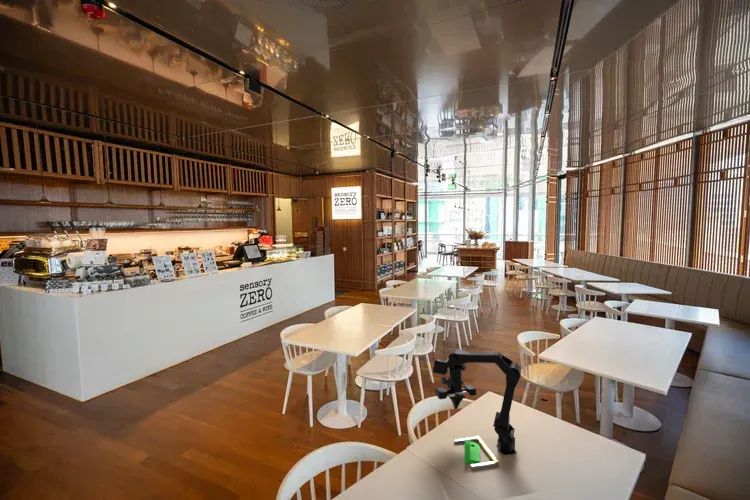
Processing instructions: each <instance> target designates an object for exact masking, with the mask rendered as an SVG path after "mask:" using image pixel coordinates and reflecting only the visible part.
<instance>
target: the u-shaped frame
mask: <svg viewBox="0 0 750 500" xmlns="http://www.w3.org/2000/svg"><path fill="white" fill-rule="evenodd" d="M465 440H470V442H475V443H476V442H477V444H478V445H479V446H480V448H482V450H483V451H484V452H485V454H486V455H487V456H488V458H489V459H490V460H491V461H486V462H480V463H477V464H470V465H469V466H470V470H471V471H474V470H482V469H488V468H494V467H499V464H500V461H499V460H498V459H497V457H496V456H495V455H494V454H493V452H491V450H490V449H489V447H488V446H487V445H486V444H485V442H484V441H483V440H482V438H481V437H480V436H479V435H476V436H472V437H471V436H470V437H464V438H457V439H454V440H453V442H454V444H455V445H459V444H465Z"/></svg>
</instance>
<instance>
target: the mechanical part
mask: <svg viewBox="0 0 750 500" xmlns="http://www.w3.org/2000/svg"><path fill="white" fill-rule="evenodd" d="M480 451H481V446H480V444H479V443H478V442H477V443H476V442H470V440H465V443H464V463H465V464H470V465H471V464H477V463H481V462H480V460H481V456H480Z"/></svg>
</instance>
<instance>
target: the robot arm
mask: <svg viewBox="0 0 750 500" xmlns="http://www.w3.org/2000/svg"><path fill="white" fill-rule="evenodd" d="M468 363H469V364H470V363H474V364H475V363H483V364H495V366H497V367H498V368H499V369H500V371H501V372H502V373H503V374H505V390H504V394H503V400H502V404H501V408H500V411H495V416H494V421H493V424H492V426H493V428H494V432H495V433H496V434H497V436H498V438H497V444H496V445H495V446H496V447H497V449H498V450H499V452H500V453H502V455H503V456H507V455H514V454H518V452H517V450H516V437H515V427H513V425H512V424H511V423H510V422H511V421H510V420H511V419H510V418H511V416H510V413H511V408H512V403H513V399H514V394H515V390H516V387H517V385H518V383H519V381H520V379H521V375H522V367H521V366H520V364H518V363H517V362H514V361H513V360H511V358H509V357H506V356H505V355H504V354H502V353H501V352H499V351H495V352H493V351H492V352H489V351H488V352H487V351H485V352H482V351H480V352H479V351H466V350H464V349H458V348H454V349H453V350H451V352H450V353H449V355H448V358H447V359H446V360H443V359H438V358H436V359H434V362H433V367H432V372H433V374H436V375H441V376H442V377H441V378H440V381H441V382H440V383H441V384H442V385H444V386H446V387H447V389H445V388H444V387H443V386H442V387H436V388H435V390H434V394H435V396H436V397H437V398H438V399H439V400H446V399H447V398H449V399H450V400H451V404H452V405H453V408H454V410H458V408H459V406H460V404H461V402H463V399H465V398H466V395H465V393H468V395H469V396H471V397H472V396H476V395H477V389H476V387H474V386H473V385H472V384H471V383H470V384H464V381H463V371H466V369H467V366H466V365H465V364H468ZM447 374H448V377H447ZM463 384H464V385H463Z"/></svg>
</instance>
